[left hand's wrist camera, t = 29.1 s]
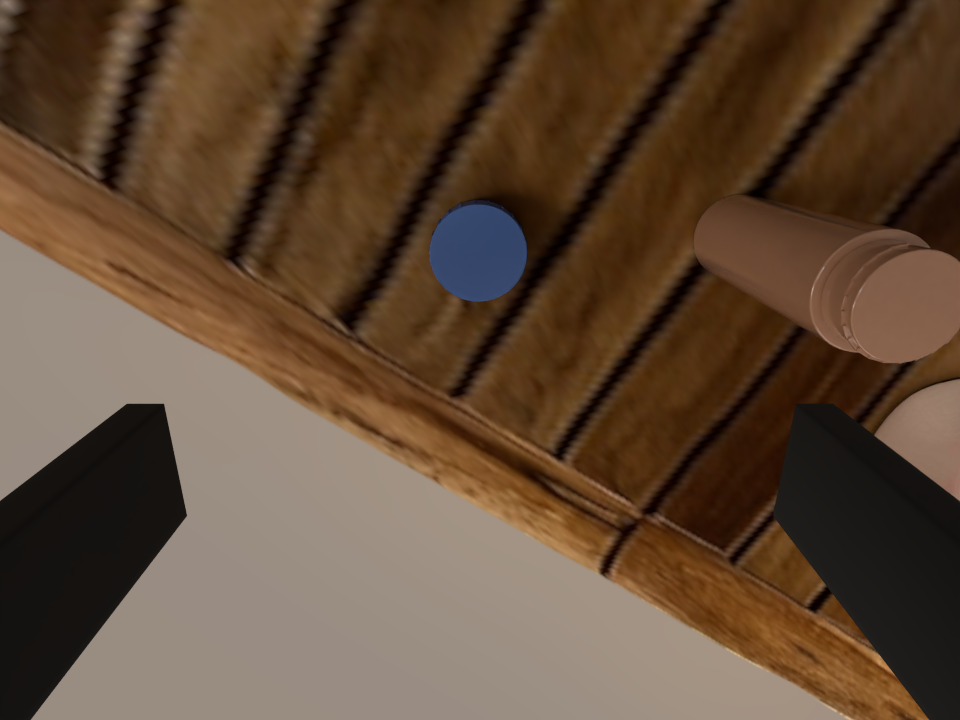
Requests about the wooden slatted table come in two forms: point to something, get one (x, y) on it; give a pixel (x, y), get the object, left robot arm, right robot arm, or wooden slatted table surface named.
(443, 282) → the lid
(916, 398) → the anatomical model
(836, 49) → the wooden slatted table surface
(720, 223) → the jar
